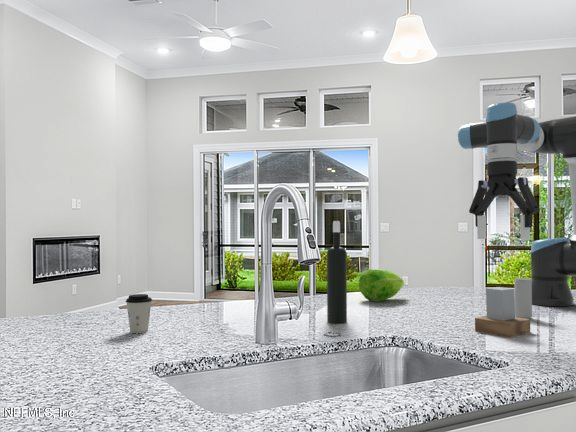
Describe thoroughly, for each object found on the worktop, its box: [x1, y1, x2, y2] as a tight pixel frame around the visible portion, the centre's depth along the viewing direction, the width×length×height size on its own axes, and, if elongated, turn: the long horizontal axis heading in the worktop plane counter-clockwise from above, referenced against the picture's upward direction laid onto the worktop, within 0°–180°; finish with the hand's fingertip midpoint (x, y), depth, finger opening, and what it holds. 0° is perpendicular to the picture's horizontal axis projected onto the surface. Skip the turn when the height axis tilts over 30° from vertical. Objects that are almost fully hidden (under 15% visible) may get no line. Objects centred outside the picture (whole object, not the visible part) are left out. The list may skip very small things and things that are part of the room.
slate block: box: [485, 286, 515, 321], centre depth 139 cm, size 5×5×8 cm
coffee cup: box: [125, 293, 153, 335], centre depth 140 cm, size 7×7×10 cm
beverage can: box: [513, 277, 533, 320], centre depth 157 cm, size 5×5×12 cm
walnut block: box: [474, 315, 531, 338], centre depth 138 cm, size 10×10×4 cm
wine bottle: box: [326, 220, 348, 325], centre depth 153 cm, size 6×6×30 cm
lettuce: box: [358, 268, 405, 303], centre depth 193 cm, size 14×20×12 cm
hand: (502, 239), depth 139 cm, fingers open, 13 cm apart
